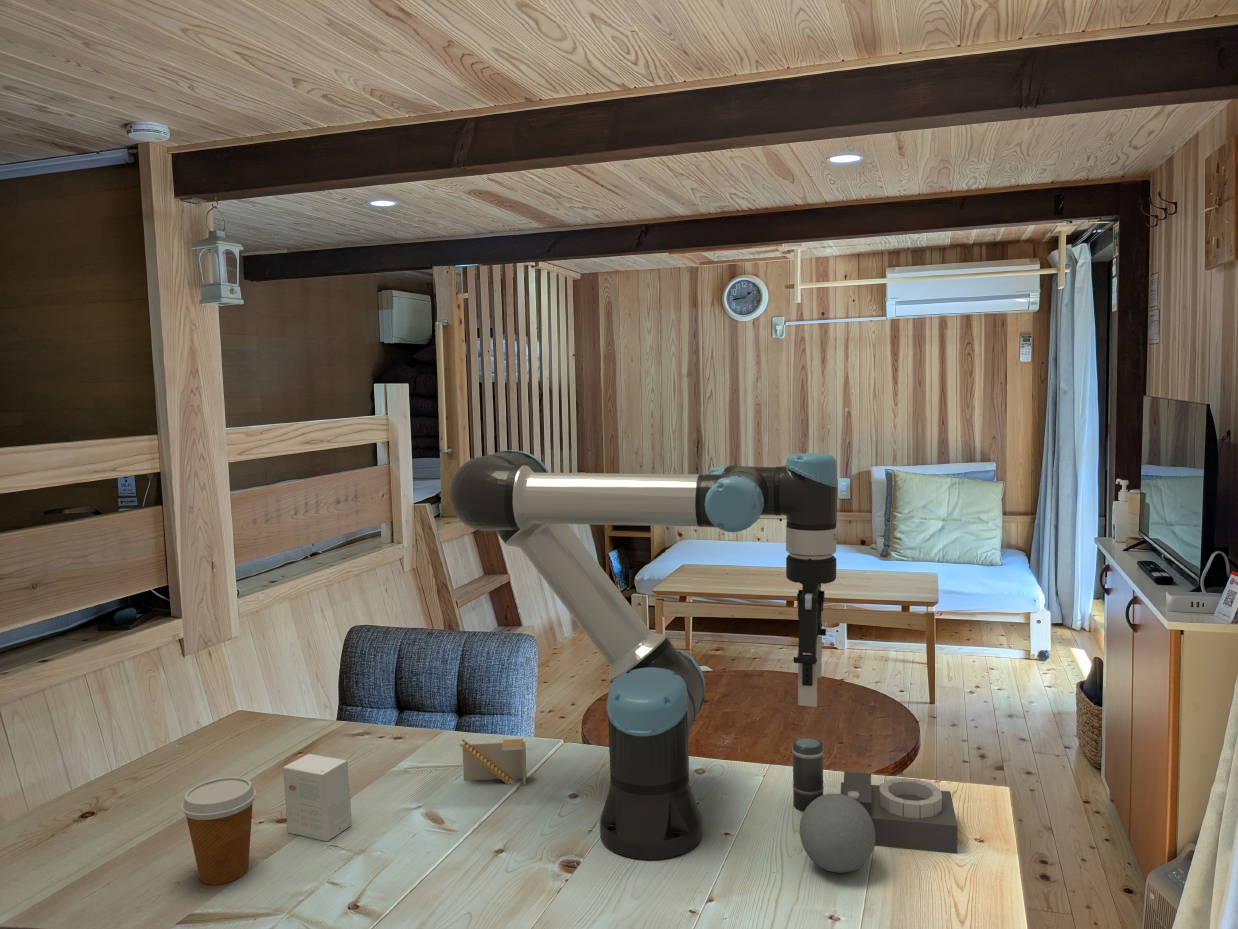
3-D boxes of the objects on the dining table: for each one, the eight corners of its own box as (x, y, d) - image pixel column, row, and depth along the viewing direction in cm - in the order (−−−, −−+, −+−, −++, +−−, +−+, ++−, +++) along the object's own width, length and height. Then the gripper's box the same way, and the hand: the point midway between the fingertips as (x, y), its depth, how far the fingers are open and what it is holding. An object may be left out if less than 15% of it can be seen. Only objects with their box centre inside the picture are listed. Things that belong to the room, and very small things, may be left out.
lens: (791, 811, 141) (791, 747, 140) (794, 797, 145) (793, 736, 144) (823, 814, 139) (822, 749, 138) (824, 800, 144) (823, 738, 143)
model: (525, 787, 153) (523, 743, 152) (461, 790, 152) (459, 746, 152) (526, 779, 156) (525, 736, 155) (464, 782, 155) (462, 738, 155)
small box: (352, 826, 140) (349, 759, 139) (327, 843, 135) (323, 774, 134) (313, 817, 143) (309, 752, 142) (286, 833, 138) (282, 766, 137)
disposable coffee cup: (214, 898, 121) (208, 811, 120) (172, 880, 126) (166, 796, 125) (275, 865, 129) (270, 784, 128) (233, 849, 134) (227, 770, 133)
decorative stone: (813, 843, 131) (813, 775, 130) (883, 859, 126) (883, 790, 125) (789, 876, 122) (788, 804, 121) (863, 895, 117) (863, 820, 116)
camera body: (839, 841, 131) (838, 797, 130) (841, 807, 141) (840, 766, 141) (957, 853, 127) (957, 808, 126) (950, 817, 137) (950, 774, 137)
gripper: (833, 572, 126) (832, 721, 128) (839, 541, 150) (837, 667, 151) (778, 570, 128) (778, 716, 129) (792, 539, 152) (792, 664, 153)
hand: (810, 690), depth 140 cm, fingers open, 13 cm apart
